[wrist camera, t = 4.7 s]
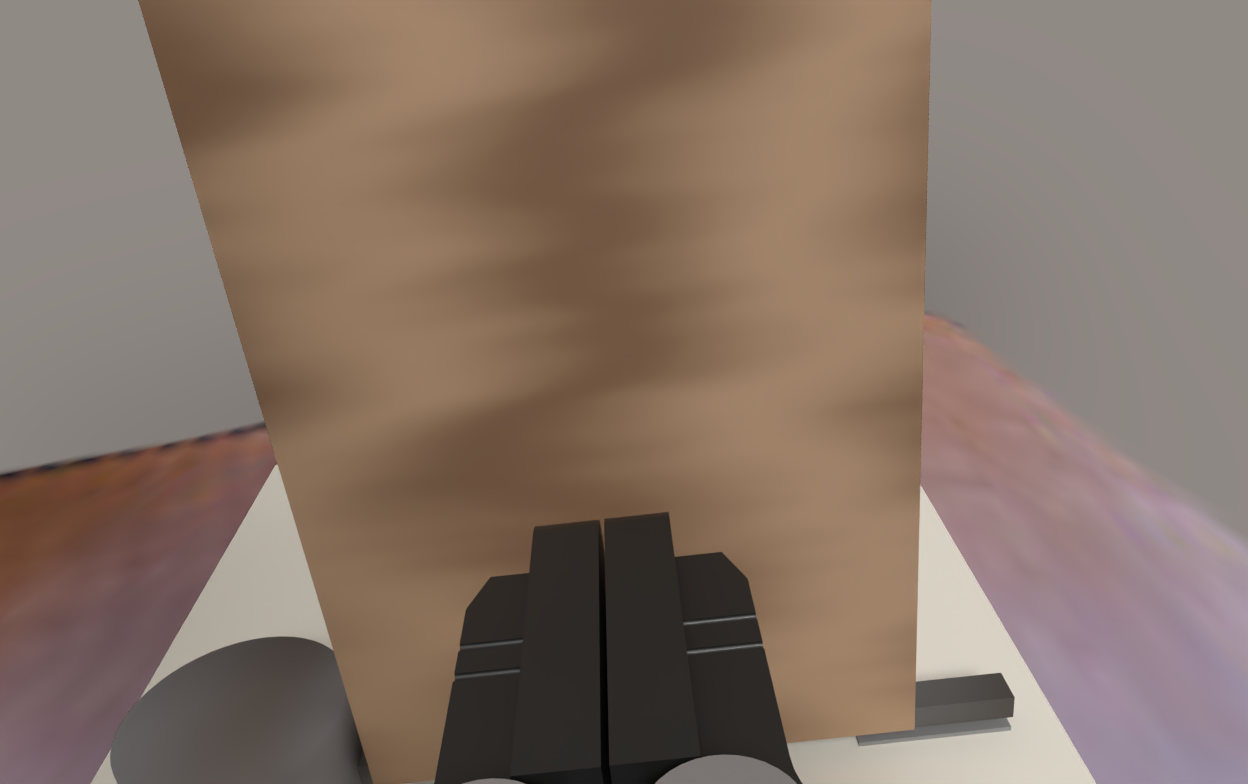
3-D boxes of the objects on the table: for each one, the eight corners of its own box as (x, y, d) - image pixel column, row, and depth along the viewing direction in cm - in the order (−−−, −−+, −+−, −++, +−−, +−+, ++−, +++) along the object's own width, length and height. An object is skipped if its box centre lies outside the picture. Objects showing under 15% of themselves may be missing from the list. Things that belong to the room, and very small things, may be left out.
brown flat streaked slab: (105, 894, 18) (-378, -82, 11) (192, 719, 22) (-122, -80, 15) (1052, 796, 18) (1168, -273, 11) (968, 635, 22) (1011, -221, 15)
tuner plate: (-9, 1068, 17) (-46, 1010, 16) (286, 502, 34) (274, 462, 33) (1148, 951, 17) (1160, 887, 16) (869, 438, 33) (869, 395, 33)
